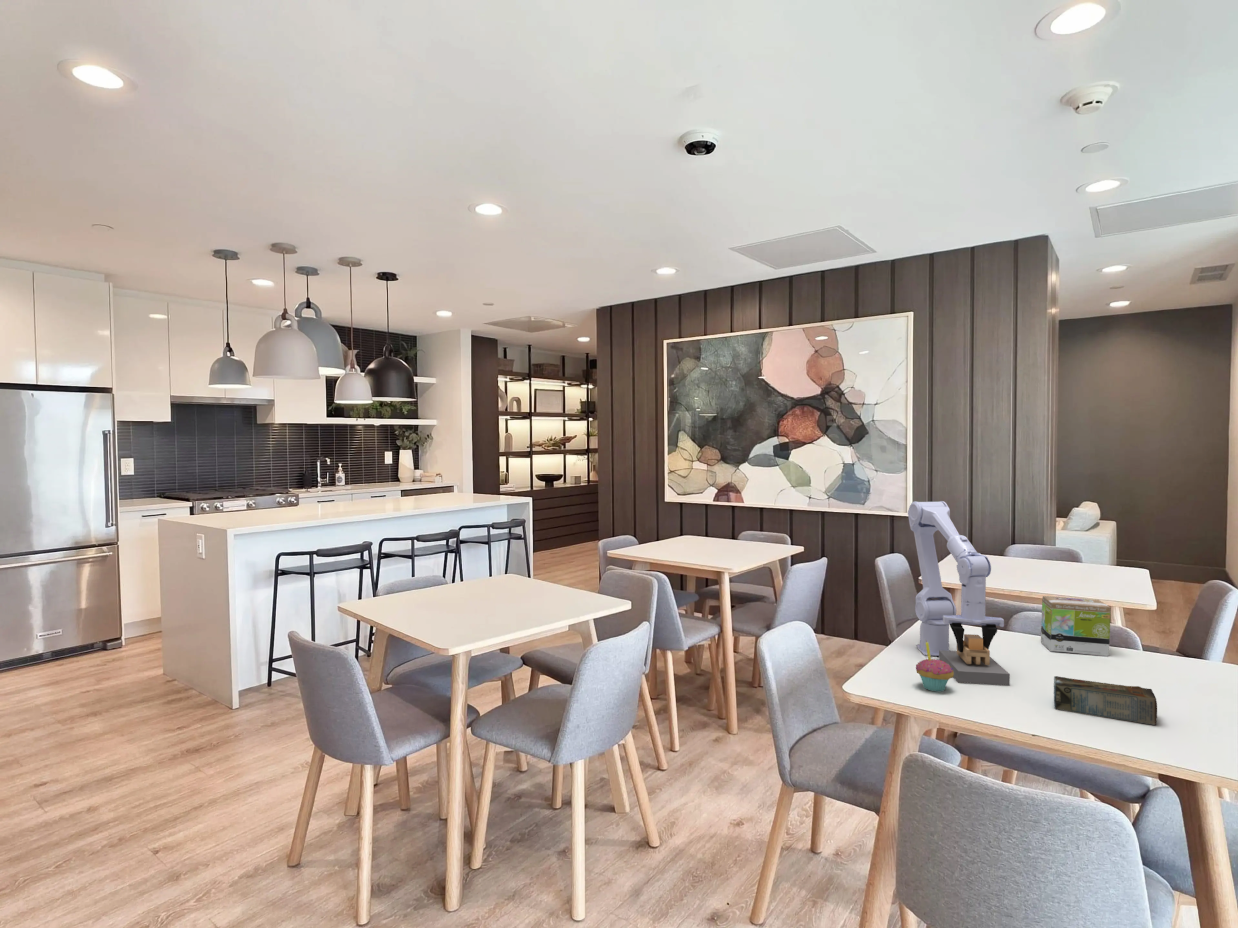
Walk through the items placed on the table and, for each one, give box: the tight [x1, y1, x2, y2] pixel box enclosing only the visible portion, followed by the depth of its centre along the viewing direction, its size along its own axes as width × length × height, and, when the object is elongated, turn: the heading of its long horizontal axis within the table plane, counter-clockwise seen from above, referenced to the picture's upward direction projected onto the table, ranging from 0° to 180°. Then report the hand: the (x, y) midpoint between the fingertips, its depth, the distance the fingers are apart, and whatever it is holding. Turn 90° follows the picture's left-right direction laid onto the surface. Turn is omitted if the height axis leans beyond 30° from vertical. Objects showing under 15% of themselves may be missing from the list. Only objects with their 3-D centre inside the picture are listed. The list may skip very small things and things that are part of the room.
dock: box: [938, 650, 1011, 687], centre depth 183 cm, size 18×12×3 cm, turn 169°
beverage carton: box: [1053, 676, 1158, 726], centre depth 157 cm, size 8×19×7 cm, turn 59°
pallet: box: [956, 639, 991, 665], centre depth 183 cm, size 9×5×4 cm, turn 170°
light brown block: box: [963, 633, 983, 650], centre depth 183 cm, size 4×4×3 cm
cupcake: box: [915, 639, 954, 692], centre depth 172 cm, size 9×8×12 cm
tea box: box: [1040, 595, 1112, 657], centre depth 203 cm, size 15×10×15 cm, turn 73°
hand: (972, 651), depth 183 cm, fingers closed on pallet, 5 cm apart
